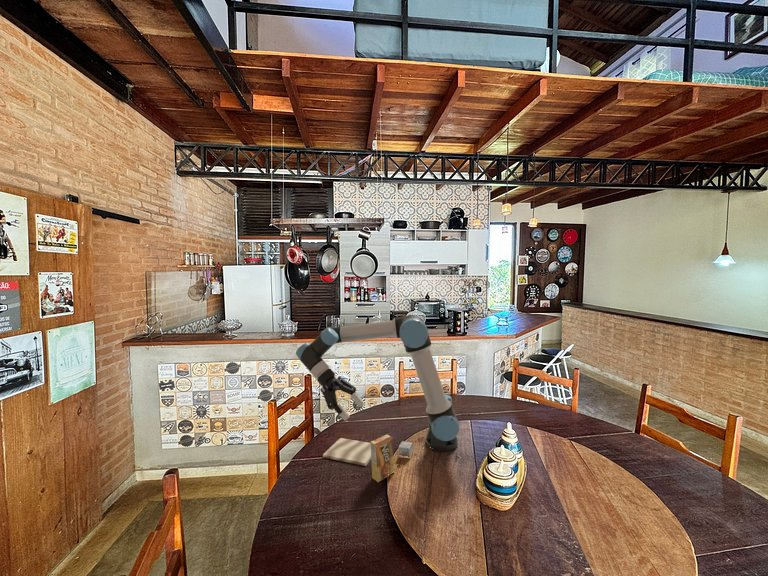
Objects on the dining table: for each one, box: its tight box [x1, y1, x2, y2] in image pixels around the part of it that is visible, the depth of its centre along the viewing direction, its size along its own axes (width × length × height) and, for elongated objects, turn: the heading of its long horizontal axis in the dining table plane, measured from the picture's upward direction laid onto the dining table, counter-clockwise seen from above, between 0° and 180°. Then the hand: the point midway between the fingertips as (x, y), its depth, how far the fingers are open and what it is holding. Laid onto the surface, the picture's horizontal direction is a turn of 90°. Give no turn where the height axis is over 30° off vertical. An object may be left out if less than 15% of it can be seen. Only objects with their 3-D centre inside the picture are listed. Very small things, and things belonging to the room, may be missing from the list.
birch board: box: [322, 437, 371, 467], centre depth 152 cm, size 22×16×1 cm
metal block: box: [397, 441, 414, 457], centre depth 147 cm, size 5×5×5 cm
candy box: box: [370, 434, 395, 483], centre depth 133 cm, size 9×4×15 cm, turn 129°
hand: (355, 411), depth 136 cm, fingers open, 13 cm apart
